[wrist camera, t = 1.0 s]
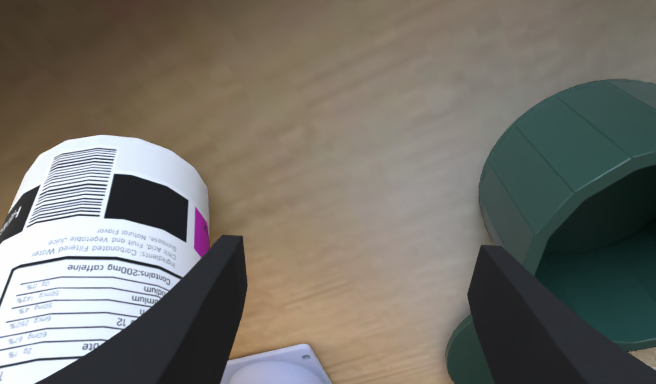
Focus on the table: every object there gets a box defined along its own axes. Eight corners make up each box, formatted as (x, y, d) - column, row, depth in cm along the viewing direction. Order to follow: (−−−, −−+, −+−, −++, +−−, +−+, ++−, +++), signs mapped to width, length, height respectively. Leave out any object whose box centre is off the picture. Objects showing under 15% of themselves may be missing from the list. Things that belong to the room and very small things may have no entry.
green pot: (689, 229, 23) (795, 321, 18) (495, 275, 25) (537, 370, 20) (704, 44, 18) (858, 94, 13) (460, 122, 20) (503, 192, 15)
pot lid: (622, 376, 30) (666, 445, 26) (461, 405, 32) (478, 472, 28) (620, 259, 24) (674, 324, 20) (425, 304, 27) (440, 370, 23)
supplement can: (239, 204, 24) (263, 547, 13) (117, 261, 25) (53, 613, 15) (135, 95, 18) (37, 549, 8) (-16, 175, 19) (-276, 657, 9)
